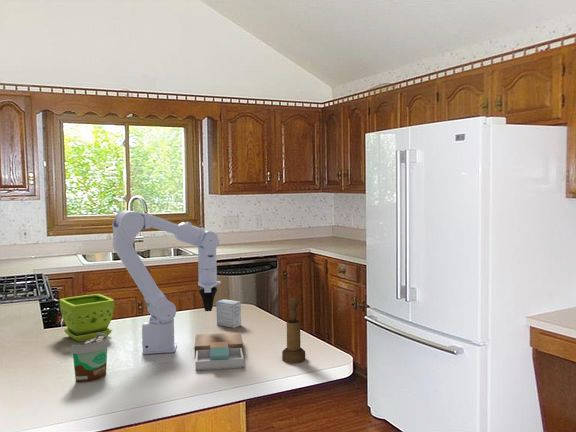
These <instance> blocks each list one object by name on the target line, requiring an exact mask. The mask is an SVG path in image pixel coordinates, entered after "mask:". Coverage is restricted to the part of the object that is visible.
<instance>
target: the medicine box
mask: <svg viewBox="0 0 576 432" xmlns="http://www.w3.org/2000/svg"><path fill="white" fill-rule="evenodd" d="M215 308H216V325H217V326H221V327H227V328H233V329H235V328H238V327H240V326H242V303H241V301H237V300H232V299H231V300H230V299H220V300H217V301H216V307H215Z"/></svg>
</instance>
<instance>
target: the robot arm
mask: <svg viewBox="0 0 576 432" xmlns="http://www.w3.org/2000/svg"><path fill="white" fill-rule="evenodd" d="M111 226H112V248H113V250H114V252H115V253H116V255H117V256H118V258H119V259H120V261H121V262H122V264H123V266H124V267H125V269H126V270H127V272H128V273H129V275H130V277H131V278H132V280H133V281H134V283H135V284H136V287H138V290H139V291H140V293H141V294H142V296H143V299H144V302H145V303H146V309H147V312H148V314H149V315H150V318H149V320H147V321H143V322H142V326H141V327H142V328H141V336H142V337H141V340H142V341H141V344H142V345H141V347H142V354H143V355H149V354H151V355H153V354H165V353H166V354H167V353H168V354H169V353H175V352H176V348H177V346H178V345H177V344H178V343H177V342H175V316H176V314H177V307H176V305H175V304H174V303H173V302H171V301H170V300H168V299H167V297H166V295H165V294H164V293H163V292H162V291H161V289H160V288H159V287H158V286H157V283H156V282H155V280H154V279H153V277H152V275H151V274H150V272H149V270H148V268H147V267H146V265H145V264H144V262H143V260H142V259H141V257H140V255H139V254H138V252H137V251H136V249H135V247H134V244H135V240H136V237H137V236H138V234H139V233H140V232H141V230H142V229H144V230H147V229H151V228H153V229H156V230H160V231H163V232H165V233H166V232H167V233H169V234H172V235H174V236H175V238H176V240H177V241H180V242H183V243H186V244H189V245H193V246H196V247H197V253H198V254H197V260H198V262H197V264H198V265H197V266H198V270H197V271H198V282H197V285H198V286H199V287H200V288H199V289H198V292H199V294H200V296H201V299H202V304H203V308H204V312H212V311H213V305H214V300H215V296H216V293H217V291H218V288H217V285H221V280H218V278H217V277H218V274H217V273H218V272H217V271H218V268H217V267H218V266H217V249H218V248H217V247H218V246H219V244H220V239H219V237H218V235H217V234H216V232H215V231H210V230H206V229H205V227H203V226H201V227H199V226H195V225H193V223H192V222H190V221H186V222H184V221H182V222H181V223H174V222H173V221H169V220H167V219H164V218H162V217H158V216H156V215H153V214H149V213H143V212H139V211H137V210H136V211H135V210H128V209H127V210H126V209H125V210H124V209H123V210H120V211H119V212H117V214H116V215H115V217H114V219H113V221H112V224H111Z"/></svg>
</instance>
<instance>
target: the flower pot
mask: <svg viewBox="0 0 576 432" xmlns="http://www.w3.org/2000/svg"><path fill="white" fill-rule="evenodd" d="M59 308H60V313H61V316H62V319H63V323H64V325H65V326H66V328H64V329H63V332H65V334H66V335H68V337H70V338H72V339H73V340H74V341H76V342H78V343H82V342H84V341H86V340H89V339H92V338H94V337H96V336H97V333H104V334H106V335H107V336H108V337H109V335H111V333H112V331H113V329H111V328H109V326H110V323H111V321H112V318H113V315H114V310H115V300H114V299H113V298H111V297H108V296H105V295H103V294H100V293H95V294H94V293H93V294H86V295H79V296H77V295H76V296H72V297H71V296H70V297H65V298H60V299H59Z"/></svg>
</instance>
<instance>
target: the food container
mask: <svg viewBox="0 0 576 432" xmlns="http://www.w3.org/2000/svg"><path fill="white" fill-rule="evenodd" d="M110 345H111V342H110V338H109V335H108V336H107V335H106V334H104V333H97V336H96V337H94V338H92V339H89V340H86V341H82V342H81V343H80V344H71V352H70V354H71V355H72V357H73V367H74V378H75V383H78V384H79V383H89V382H95V381H98V380H101V379H103V378H104V377H106V375H107V366H108V365H107V363H108V362H107V361H108V347H109V346H110Z"/></svg>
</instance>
